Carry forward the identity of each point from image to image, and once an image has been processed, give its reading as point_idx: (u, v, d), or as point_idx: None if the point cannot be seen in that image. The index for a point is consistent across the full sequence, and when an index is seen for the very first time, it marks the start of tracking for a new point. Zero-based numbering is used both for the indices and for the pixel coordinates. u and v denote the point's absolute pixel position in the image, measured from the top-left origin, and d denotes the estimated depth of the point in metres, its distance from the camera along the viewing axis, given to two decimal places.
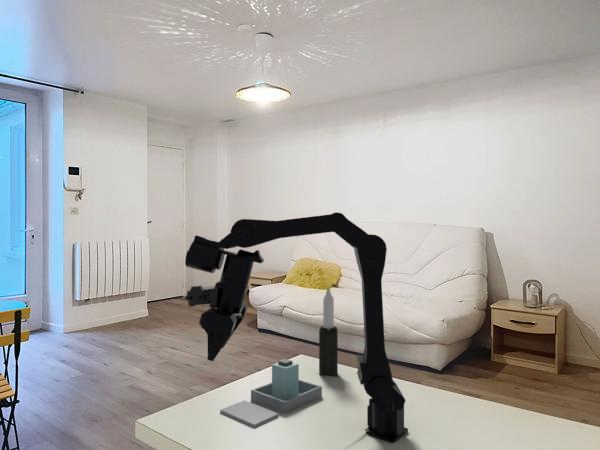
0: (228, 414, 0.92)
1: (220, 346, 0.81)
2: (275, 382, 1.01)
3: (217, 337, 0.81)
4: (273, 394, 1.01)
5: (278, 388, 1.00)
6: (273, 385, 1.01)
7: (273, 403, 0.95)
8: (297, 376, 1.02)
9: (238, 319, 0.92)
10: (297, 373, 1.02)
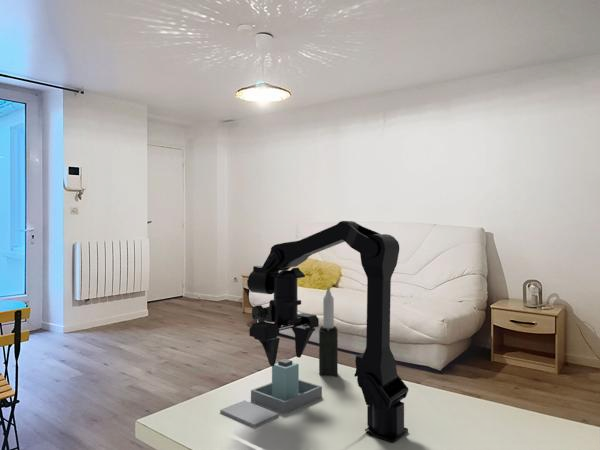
0: (228, 414, 0.92)
1: (272, 353, 0.97)
2: (275, 382, 1.01)
3: (269, 345, 0.97)
4: (273, 394, 1.01)
5: (278, 388, 1.00)
6: (273, 385, 1.01)
7: (273, 403, 0.95)
8: (297, 376, 1.02)
9: (306, 331, 1.04)
10: (297, 373, 1.02)
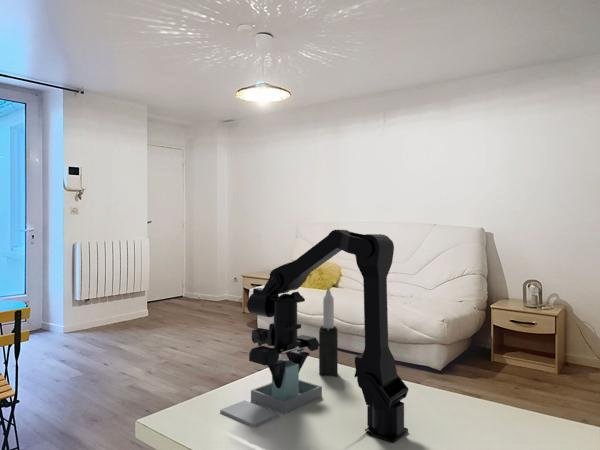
0: (228, 414, 0.92)
1: (278, 375, 0.98)
2: None
3: (276, 368, 0.99)
4: (273, 394, 1.01)
5: (278, 388, 1.00)
6: (273, 385, 1.01)
7: (273, 403, 0.95)
8: (297, 376, 1.02)
9: (300, 356, 1.03)
10: (297, 373, 1.02)
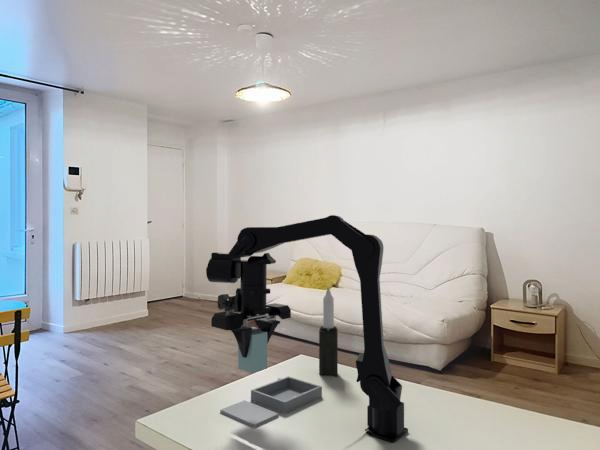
0: (228, 414, 0.92)
1: (244, 343, 0.90)
2: None
3: (241, 335, 0.91)
4: (239, 364, 0.93)
5: (244, 358, 0.92)
6: (239, 354, 0.93)
7: (273, 403, 0.95)
8: (265, 345, 0.94)
9: (269, 324, 0.95)
10: (265, 342, 0.94)
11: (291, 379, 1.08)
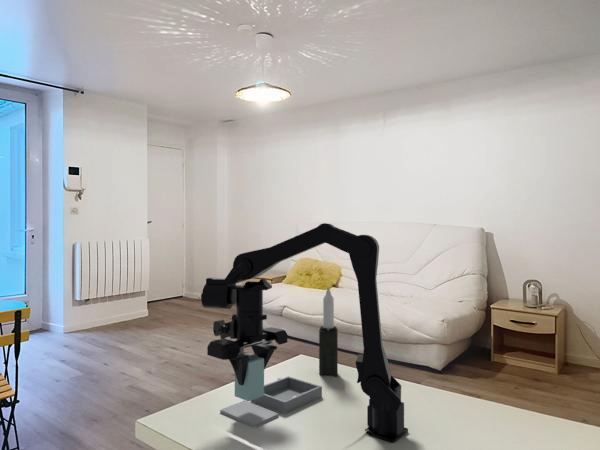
0: (228, 414, 0.92)
1: (241, 371, 0.89)
2: None
3: (238, 363, 0.90)
4: (236, 392, 0.92)
5: (241, 385, 0.91)
6: (236, 382, 0.92)
7: (273, 403, 0.95)
8: (262, 371, 0.92)
9: (266, 350, 0.93)
10: (262, 368, 0.93)
11: (291, 379, 1.08)
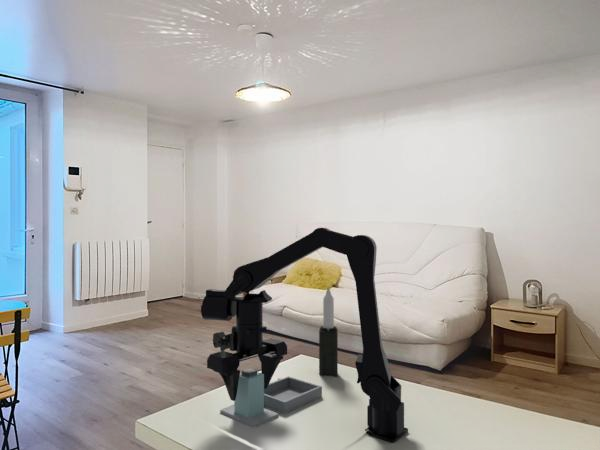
0: (228, 414, 0.92)
1: (232, 386, 0.87)
2: (238, 394, 0.92)
3: (229, 378, 0.88)
4: (236, 407, 0.92)
5: (241, 401, 0.91)
6: (236, 397, 0.92)
7: (273, 403, 0.95)
8: (262, 387, 0.92)
9: (272, 359, 0.95)
10: (262, 384, 0.92)
11: (291, 379, 1.08)
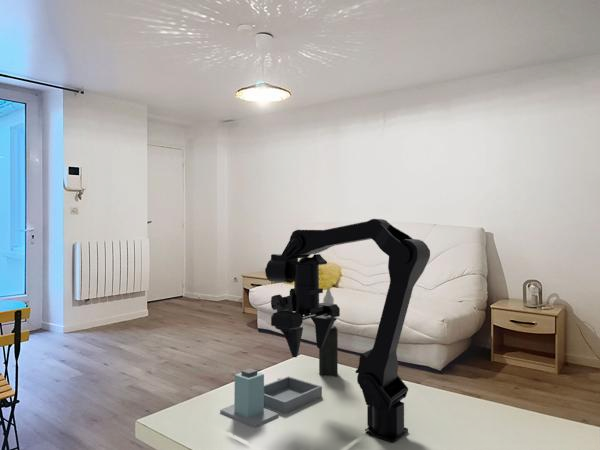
0: (228, 414, 0.92)
1: (295, 343, 0.92)
2: (238, 394, 0.92)
3: (292, 335, 0.93)
4: (236, 407, 0.92)
5: (241, 401, 0.91)
6: (236, 397, 0.92)
7: (273, 403, 0.95)
8: (262, 387, 0.92)
9: (327, 320, 1.00)
10: (262, 384, 0.92)
11: (291, 379, 1.08)
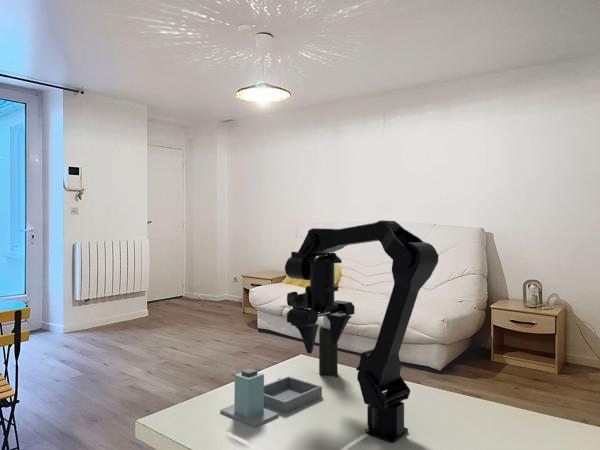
0: (228, 414, 0.92)
1: (310, 339, 0.94)
2: (238, 394, 0.92)
3: (307, 332, 0.94)
4: (236, 407, 0.92)
5: (241, 401, 0.91)
6: (236, 397, 0.92)
7: (273, 403, 0.95)
8: (262, 387, 0.92)
9: (342, 318, 1.01)
10: (262, 384, 0.92)
11: (291, 379, 1.08)
